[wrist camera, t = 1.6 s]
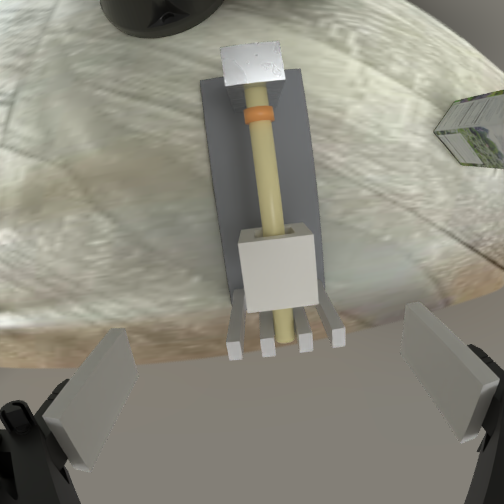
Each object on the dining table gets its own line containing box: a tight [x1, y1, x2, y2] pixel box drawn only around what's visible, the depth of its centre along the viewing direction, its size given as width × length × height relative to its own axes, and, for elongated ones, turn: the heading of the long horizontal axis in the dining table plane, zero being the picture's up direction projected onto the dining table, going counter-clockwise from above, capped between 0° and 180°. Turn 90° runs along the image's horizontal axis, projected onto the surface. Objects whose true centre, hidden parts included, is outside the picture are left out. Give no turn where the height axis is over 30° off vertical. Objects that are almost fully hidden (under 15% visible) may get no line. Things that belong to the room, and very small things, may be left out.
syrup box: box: [434, 90, 504, 169], centre depth 24 cm, size 6×6×14 cm
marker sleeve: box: [238, 222, 319, 313], centre depth 24 cm, size 5×5×5 cm
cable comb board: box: [200, 41, 345, 360], centre depth 27 cm, size 24×10×12 cm, turn 7°
